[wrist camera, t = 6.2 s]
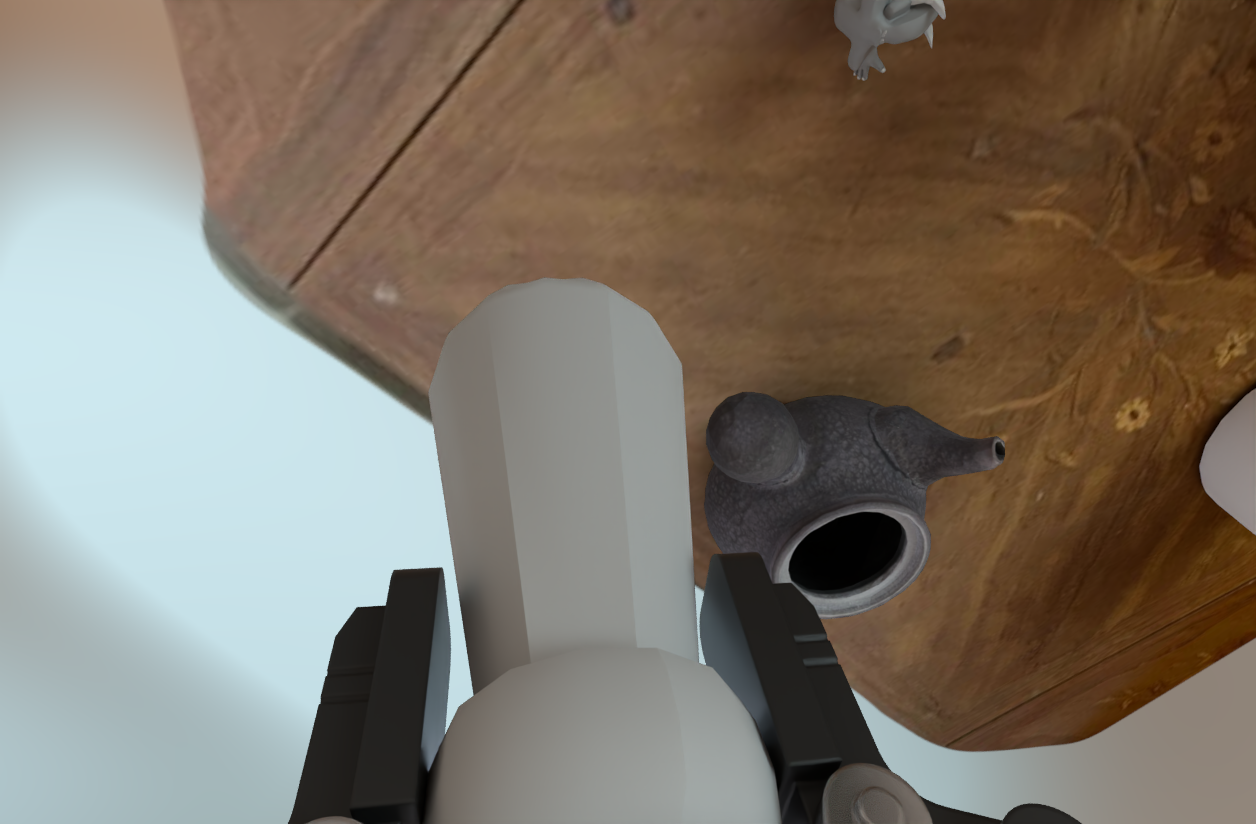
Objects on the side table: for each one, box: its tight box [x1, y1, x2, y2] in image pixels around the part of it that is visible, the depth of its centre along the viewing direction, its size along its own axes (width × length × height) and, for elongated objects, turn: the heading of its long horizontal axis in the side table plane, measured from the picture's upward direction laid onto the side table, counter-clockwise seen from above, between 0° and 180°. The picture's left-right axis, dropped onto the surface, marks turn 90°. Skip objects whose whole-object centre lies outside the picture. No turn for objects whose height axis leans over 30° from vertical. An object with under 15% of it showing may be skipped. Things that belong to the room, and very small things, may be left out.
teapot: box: [704, 392, 1005, 619], centre depth 35 cm, size 19×15×10 cm
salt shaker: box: [422, 278, 782, 824], centre depth 13 cm, size 6×6×13 cm
